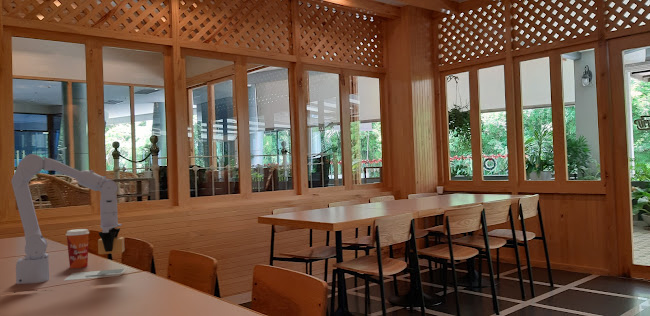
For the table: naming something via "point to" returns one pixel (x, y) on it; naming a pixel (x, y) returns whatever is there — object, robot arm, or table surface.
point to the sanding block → (117, 246)
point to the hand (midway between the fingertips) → (110, 250)
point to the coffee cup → (78, 247)
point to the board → (95, 274)
